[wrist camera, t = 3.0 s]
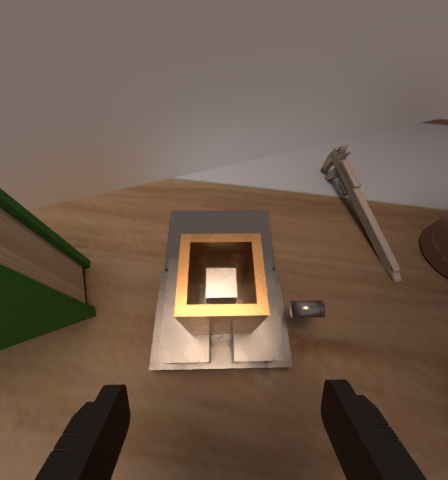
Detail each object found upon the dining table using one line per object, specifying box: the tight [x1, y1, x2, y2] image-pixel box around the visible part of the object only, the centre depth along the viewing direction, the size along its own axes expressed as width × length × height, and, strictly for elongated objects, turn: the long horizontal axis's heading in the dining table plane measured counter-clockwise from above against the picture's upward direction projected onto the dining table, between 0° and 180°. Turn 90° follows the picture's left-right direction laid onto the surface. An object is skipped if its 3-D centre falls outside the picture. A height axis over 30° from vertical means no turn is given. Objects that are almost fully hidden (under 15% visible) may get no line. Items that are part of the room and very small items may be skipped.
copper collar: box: [174, 233, 270, 335], centre depth 16 cm, size 5×5×8 cm
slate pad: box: [165, 210, 275, 271], centre depth 31 cm, size 14×9×1 cm, turn 91°
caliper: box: [321, 145, 402, 283], centre depth 31 cm, size 20×1×6 cm, turn 15°
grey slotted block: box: [149, 257, 325, 370], centre depth 20 cm, size 17×10×13 cm, turn 91°
